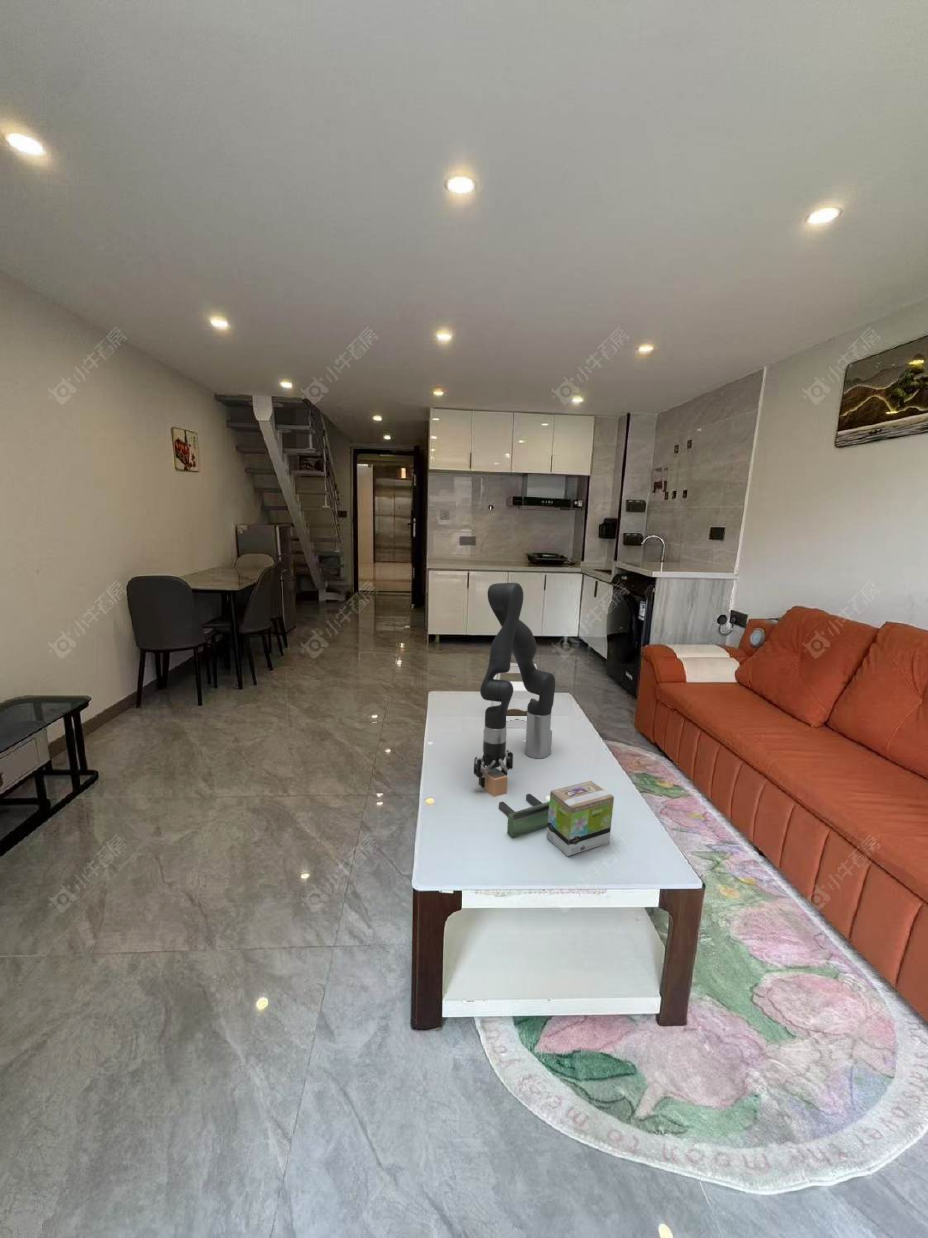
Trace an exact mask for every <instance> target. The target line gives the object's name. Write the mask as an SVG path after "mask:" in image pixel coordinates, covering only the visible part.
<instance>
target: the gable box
mask: <svg viewBox="0 0 928 1238" xmlns="http://www.w3.org/2000/svg"><path fill="white" fill-rule="evenodd" d="M533 663H534V666H535V668H536V669H537V670H539V669H538V666H537V664H536V663H535V662H533ZM540 671H543V670H541V669H540ZM501 674H502V673H499V674H496V675H495V676H494V678H493V679H496V680H501ZM505 674H521V673H520V670H519V667H518V664H517V662H511V663H510V670H509V671H508V672H506V673H505ZM508 681H509V682H511V684H512V685H513V695H512V697H511V698H514V699H519V700H526V699H527V700H528V699H530V700H529V703H530V702H532V701H539V695H536V694H533V693H530V692H528V691H527V690H526V688H525V686H524V684H523V680H519V681H518V680H517V681H516V680H508ZM500 704H501V702H497V701H490V707H491V706H498V705H500ZM507 716H527V710H526V711H525V710H522V709H518V708H510V709H509V708H508V710H507ZM526 725H527V721H524V720H519V719H515V720H510V721H506V729H526Z"/></svg>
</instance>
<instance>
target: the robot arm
mask: <svg viewBox="0 0 928 1238" xmlns="http://www.w3.org/2000/svg"><path fill="white" fill-rule="evenodd" d="M487 601H488V604H489V607H490V609H491V610H492V612H493V614H494V615H495V617H496V619H497V621H498V622H499V625H500V626H501V628H500V629H499V631H498V632H497V634H496V635H495V637H494V639H493V640H492V643H491V645H490V652H489V659H488V660H489V661H488V666H487V670H486V673H485V675H484V678H483V680H482V683H481V685H480V691H479V692H480V696H481V698H482V699H483V700H484V701H489V702H491V701H497V702H500V705H498V706H491V705H490V706H489V707H487V708H486V709H485V713H484V728H483V740H482V741H483V742H482V743H483V744H482V753H483V755H482V757H477V756H476V757H475V758H474V764H473V775H474V776H475V777H477V778H478V785H479V786H480V787H481V788H482V789H484V788H485V776H486V774H487V773H488V772H489V771H490V769H493V768H495V767H496V768H497V769H498V768H499V767H500V771H501V772H502V773H504V774H505V775H506V776H507V777H508V772H509V770H513V768H514V766H513V765H514V753H513V752H512V751H511V750H509V749H507V748H506V747H507V728H506V716H507V710H509V705H510V703H511V700H512V698H513V697H512V695H513V685H512V684H511V682H509V681H510V680H504V679H500V680H496V679H493V678H494V676H495V675H496V674H499V673H501V674H507V673H506V672H508V671H509V670H510V663H512V654H513V657H514V659H515V661H516V662H515V663H517V664H518V667H519V670H520V673H519V674H520V676H521V681H523V684H524V686H525V688H526V690H527V691H528V692H530V693H533V694H536V695H539V701H532V702H530V701H529V702H528V704H527V709H526V711H527V725H526V728H525V747H524V749H525V750H524V753H525V755H526V756H527V757H530V758H533V759H545V758H547V757H549V755H551V754H552V742H553V741H552V740H553V730H551V724H552V723H551V721H552V708H553V706H554V702H555V701H554V700H555V699H554V698H555V691H556V677H555V675H554V674H553V673H550V672H547V671H543V670H542V671H540V670H541V669H540V670H539V669H538V668H537V669H538V670H537V669H536V668H535V666H534V663H535V662H534V661H533V659H534V658H535V655H536V652H537V650H538V649H537V647H538V646H537V642H536V638H535V635H534V633H533V631H532V630H531V629H530V627H529V626H528V625H527V624H526V623H524V622H523V621H522V620H520V616H521V612H522V608H523V603H524V591H523V587H522V585H521V584H520V583H518V582H498V583H497V582H496V583H493V584H491V585H489V587H488V589H487ZM506 749H507V750H506ZM504 760H505V763H504ZM485 767H487V768H485ZM483 771H484V772H483Z"/></svg>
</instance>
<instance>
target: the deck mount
mask: <svg viewBox="0 0 928 1238" xmlns="http://www.w3.org/2000/svg"><path fill="white" fill-rule="evenodd" d="M525 801H526V802H527V803H528V804H530V805H531V806H530V807H527V808H523V809H519V810H517V811H515V810H514V809H513V808H511V807H510V806H509V805H508V804H507V803H506V802H504V801H500V802H499V801H498V809H499V810H500V811H501V812H502V813H503V814H505V816H506V817H507V830H506V831H507V832H506V834H507V835H508V836H509V837H510V838H511V839H513V838H517V837H520V836H522V835H525V834H529V833H531V832H535V831H538V830H540V829H543V828H547V826H548V813H549V802H550V800H549V801H547V802H542V801H540V800H539V799H538V798H536V797H535V796H534V795H533V794H532V793H527V794H525Z"/></svg>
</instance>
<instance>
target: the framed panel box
mask: <svg viewBox="0 0 928 1238" xmlns="http://www.w3.org/2000/svg"><path fill="white" fill-rule="evenodd" d="M485 768H487V766H485ZM483 772H484V771H483ZM508 778H509V777H508V775H507V776H506V775H505V774H504V773H502V772H501V769H499V768H498V767H497V768H496V767H495V768H493V769H490V771H489V772H488V773H487V774H486V776H485V788H483V789H484V790H486V791H487V792H488V793H489V794H490V795H491V796H492V797H493V798H495V797H498V796H502V795H505V794H507V793H508Z"/></svg>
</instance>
